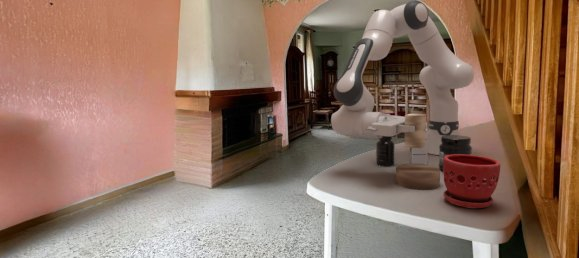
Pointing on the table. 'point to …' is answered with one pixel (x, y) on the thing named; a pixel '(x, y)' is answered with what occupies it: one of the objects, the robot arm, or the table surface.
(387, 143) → the supplement bottle
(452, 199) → the plant pot
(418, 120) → the ash block
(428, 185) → the walnut plinth
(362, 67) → the robot arm
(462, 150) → the supplement container
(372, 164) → the table surface
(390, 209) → the table surface
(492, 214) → the table surface
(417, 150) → the syrup box
